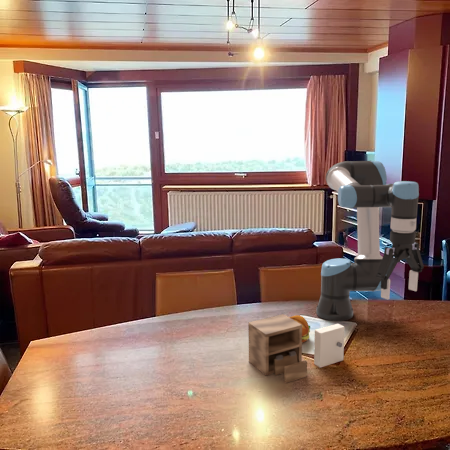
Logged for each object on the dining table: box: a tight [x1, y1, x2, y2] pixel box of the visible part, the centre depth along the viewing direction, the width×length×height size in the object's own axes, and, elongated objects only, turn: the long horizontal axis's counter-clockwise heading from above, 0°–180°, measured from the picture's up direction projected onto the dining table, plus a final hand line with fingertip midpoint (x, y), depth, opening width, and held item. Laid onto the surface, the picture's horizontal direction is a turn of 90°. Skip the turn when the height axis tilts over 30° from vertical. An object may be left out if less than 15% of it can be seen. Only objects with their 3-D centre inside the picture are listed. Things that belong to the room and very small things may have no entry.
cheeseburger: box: [288, 315, 311, 343], centre depth 164 cm, size 10×11×10 cm
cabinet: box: [248, 313, 308, 384], centre depth 144 cm, size 17×14×14 cm
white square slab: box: [313, 323, 345, 368], centre depth 146 cm, size 4×10×12 cm, turn 118°
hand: (399, 294), depth 145 cm, fingers open, 13 cm apart
